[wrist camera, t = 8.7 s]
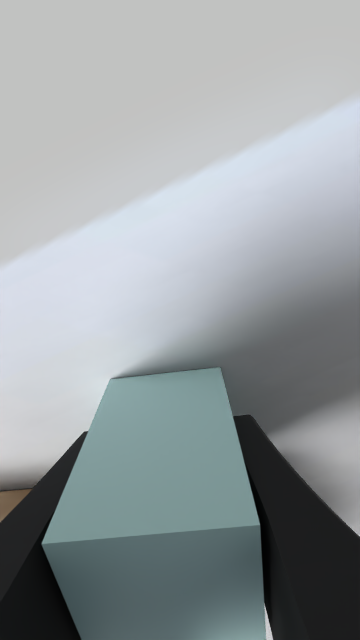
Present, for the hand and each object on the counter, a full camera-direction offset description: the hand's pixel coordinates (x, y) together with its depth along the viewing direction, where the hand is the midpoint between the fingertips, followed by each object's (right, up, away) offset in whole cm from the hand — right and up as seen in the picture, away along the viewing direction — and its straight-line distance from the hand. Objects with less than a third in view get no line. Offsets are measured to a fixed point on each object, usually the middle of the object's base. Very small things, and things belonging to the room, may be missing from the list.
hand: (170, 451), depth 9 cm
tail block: (0, 0, +1) cm, 1 cm away
